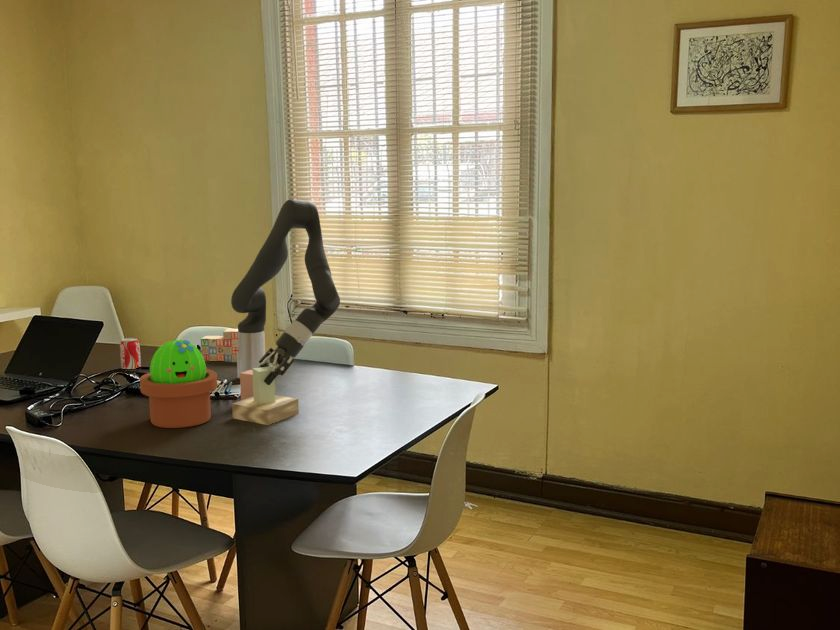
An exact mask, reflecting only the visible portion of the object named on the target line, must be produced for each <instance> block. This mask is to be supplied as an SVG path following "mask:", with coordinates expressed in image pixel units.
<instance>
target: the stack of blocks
mask: <svg viewBox="0 0 840 630" xmlns="http://www.w3.org/2000/svg"><path fill="white" fill-rule="evenodd" d="M200 346H201V348H200V352H201V354H202V356H203V358H204V360H205V362H210V361H225V362H224V363H237V352H239V342H238V328H226V329H225V330H223V331H222V335H205V336H203V337H201V338H200ZM201 350H202V351H201Z"/></svg>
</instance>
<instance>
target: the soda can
mask: <svg viewBox="0 0 840 630" xmlns="http://www.w3.org/2000/svg"><path fill="white" fill-rule="evenodd" d="M140 348H141V346H140V342H139V340H138V338H136V337H127V338H122V339H121V340H120V343H119V354H120V355H119V356H120V357H119V358H120V367H121V370H122V369H136V368H139V367H141V366H142V362H141V361H142V360H141V358H142V357H141V349H140ZM141 368H142V367H141Z"/></svg>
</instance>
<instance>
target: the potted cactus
mask: <svg viewBox="0 0 840 630" xmlns="http://www.w3.org/2000/svg"><path fill="white" fill-rule="evenodd" d="M201 351H202V350H201V349H198V347H197V346H196V345H194V344H193V343H192V342H191V341H189V340H187V339H181V338H180V339H177V338H175V339H172V340H170V341H168V340H167V341H166V342H164V343H163V344H162V345H160V346H159V347H158V348H157V350H156V351H155V352H154V355H152V359H151V360H150V367H149V372H147V373H144V374H143V375H141V376H140V378H139V387H140V393H141V394H142V395H144V396H146V397H148V398H149V399H148V401H149V402H148V403H149V416H150V422H151V424H152V425H153V426H155V427H158V428H163V429H181V428H182V429H183V428H188V427H189V428H190V427H195V426H199V425H202V424H205V423H207V422H208V421H209V420H210V419H211V415H212V414H211V396H210V395H211V393H210V392H213V391H215V390H216V388H218V374H217V372H216V371H215V370H212V369H209V368H208V367H207V366H206V365H207V364H208V363H207V362H206V361H205V360H204V358H203V356H202V354H201Z"/></svg>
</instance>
